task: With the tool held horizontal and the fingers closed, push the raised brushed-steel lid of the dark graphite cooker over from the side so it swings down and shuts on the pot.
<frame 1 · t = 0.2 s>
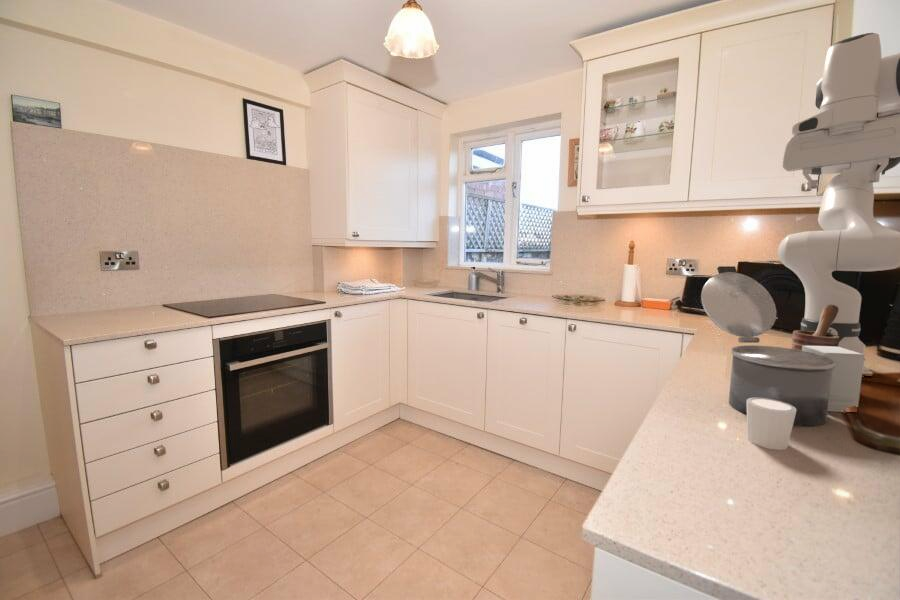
hand: (842, 185, 86), 47 cm above the countertop, tool pointing down, fingers open, 8 cm apart
cooker pot: (774, 410, 85), on the countertop
supplement box: (825, 406, 87), on the countertop
white tapered cup: (766, 443, 71), on the countertop
cooker lid: (736, 303, 96), point 21 cm above the countertop, hinge at 122.1°
mortar and pestle: (810, 383, 103), on the countertop
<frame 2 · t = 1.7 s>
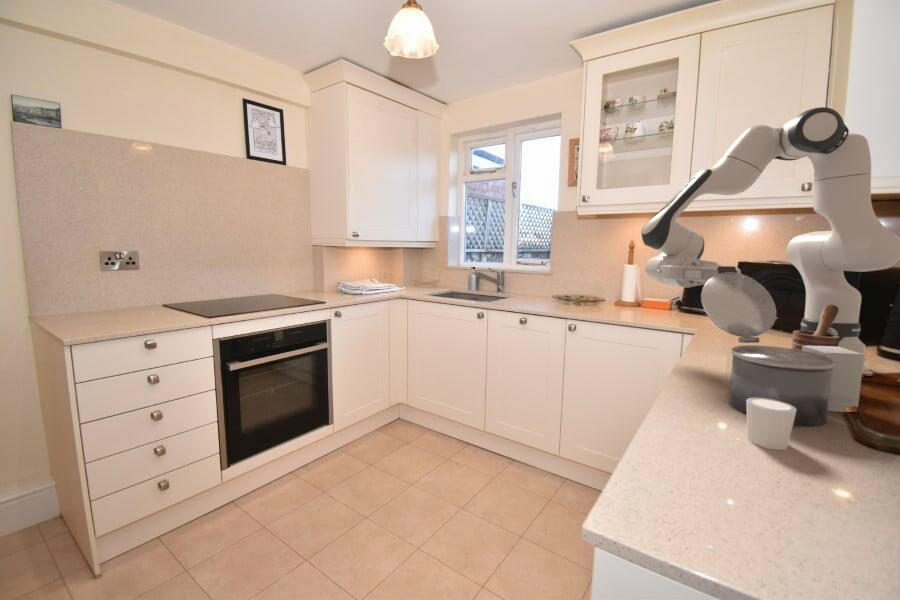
hand: (719, 275, 103), 27 cm above the countertop, tool horizontal, fingers open, 8 cm apart
nothing on the countertop moved.
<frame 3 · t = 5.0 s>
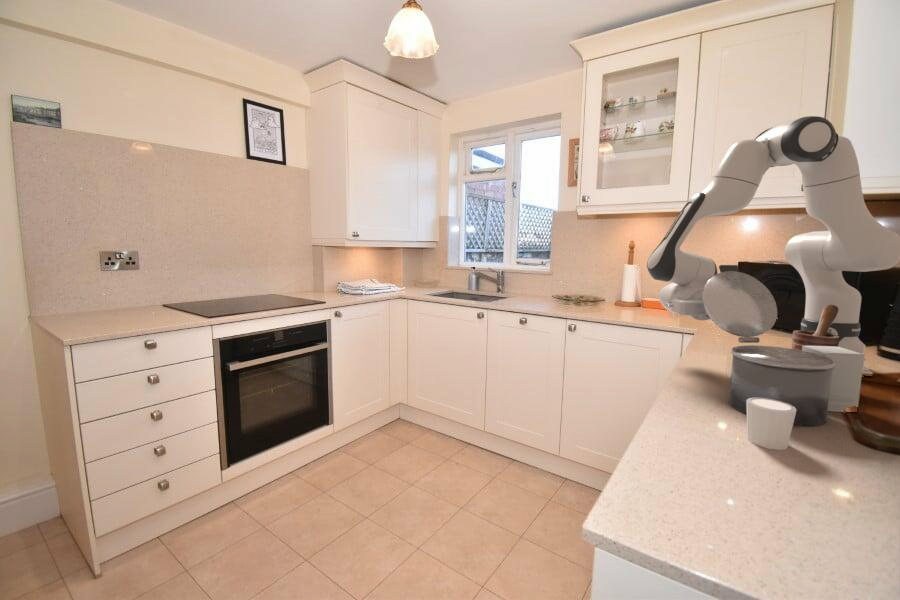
hand: (734, 311, 97), 19 cm above the countertop, tool horizontal, fingers closed, pressing on cooker lid
cooker lid: (737, 303, 96), point 21 cm above the countertop, hinge at 119.9°, touching gripper
everything else where it was.
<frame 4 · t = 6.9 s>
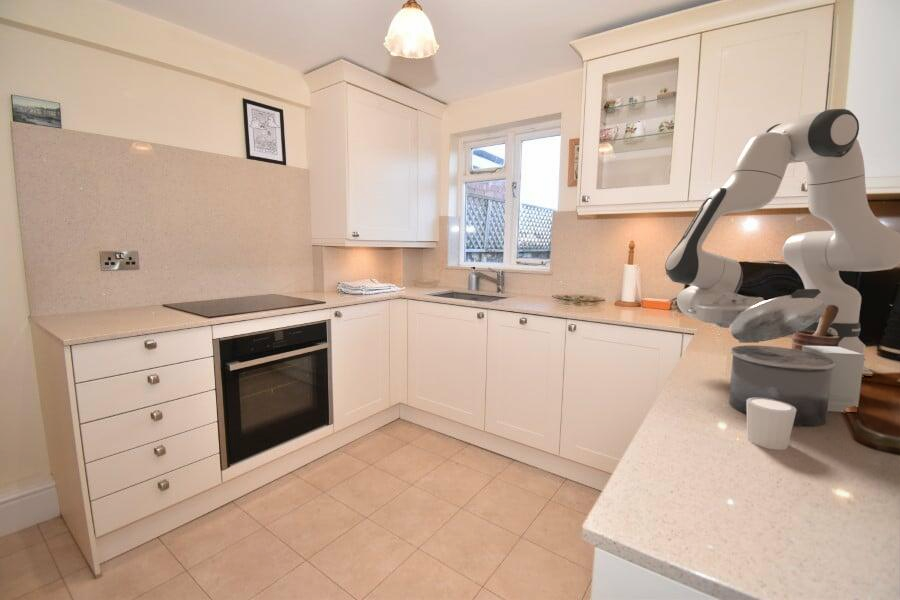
hand: (766, 319, 87), 19 cm above the countertop, tool horizontal, fingers closed, pressing on cooker lid
cooker lid: (774, 317, 85), point 20 cm above the countertop, hinge at 43.6°, touching gripper
everything else where it was.
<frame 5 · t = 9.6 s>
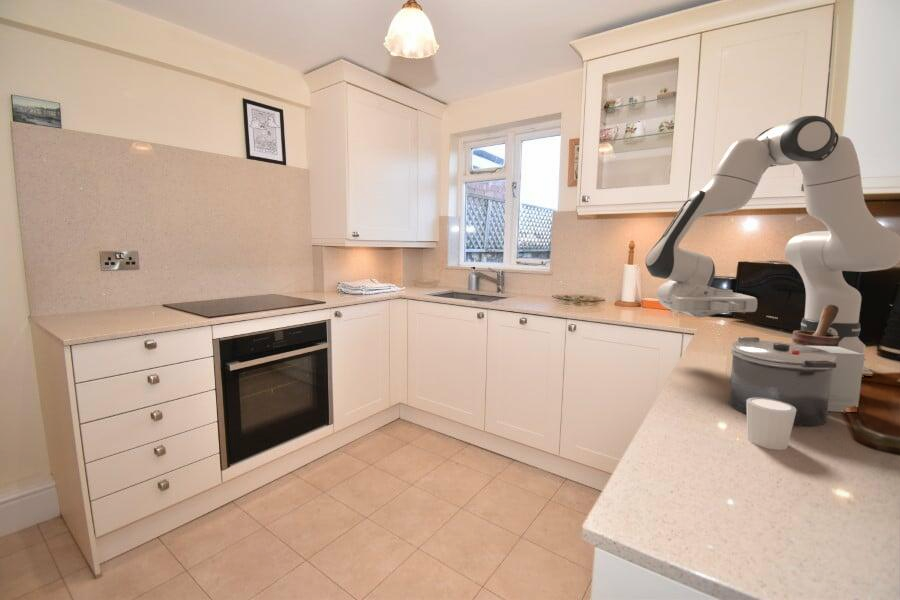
hand: (733, 307, 97), 20 cm above the countertop, tool horizontal, fingers closed
cooker lid: (781, 349, 83), point 13 cm above the countertop, hinge at -0.2°
everything else where it was.
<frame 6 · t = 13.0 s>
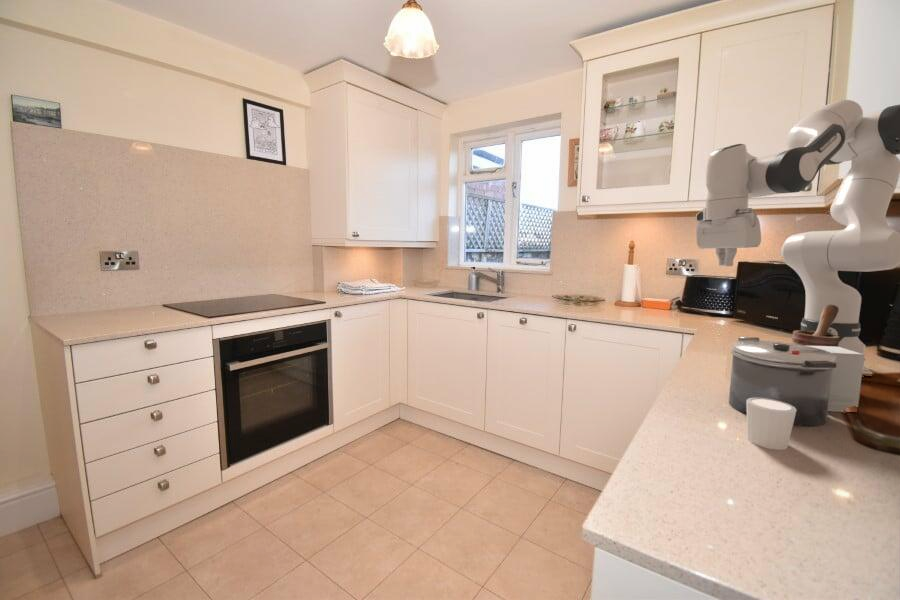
hand: (725, 266, 104), 30 cm above the countertop, tool pointing down, fingers closed
nothing on the countertop moved.
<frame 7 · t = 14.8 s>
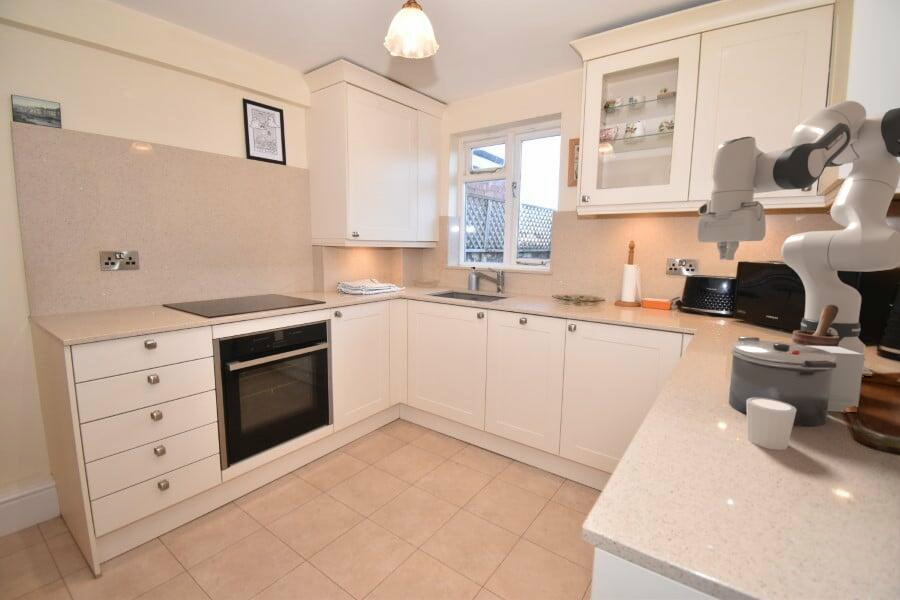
hand: (726, 260, 103), 31 cm above the countertop, tool pointing down, fingers closed
nothing on the countertop moved.
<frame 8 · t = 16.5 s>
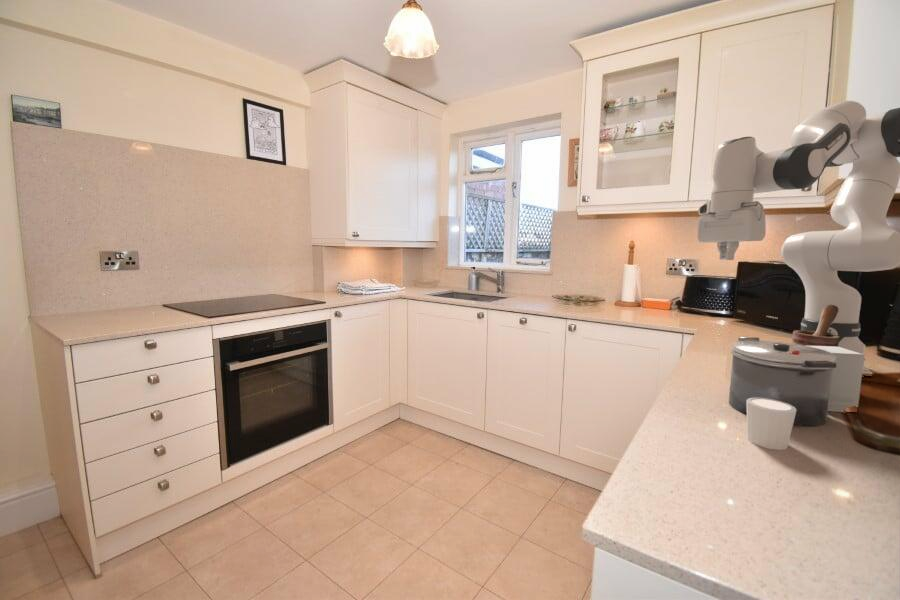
hand: (726, 260, 103), 31 cm above the countertop, tool pointing down, fingers closed
nothing on the countertop moved.
at the end: cooker lid at +0° (first picture: +122°); supplement box moved 0.2 cm from its start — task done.
